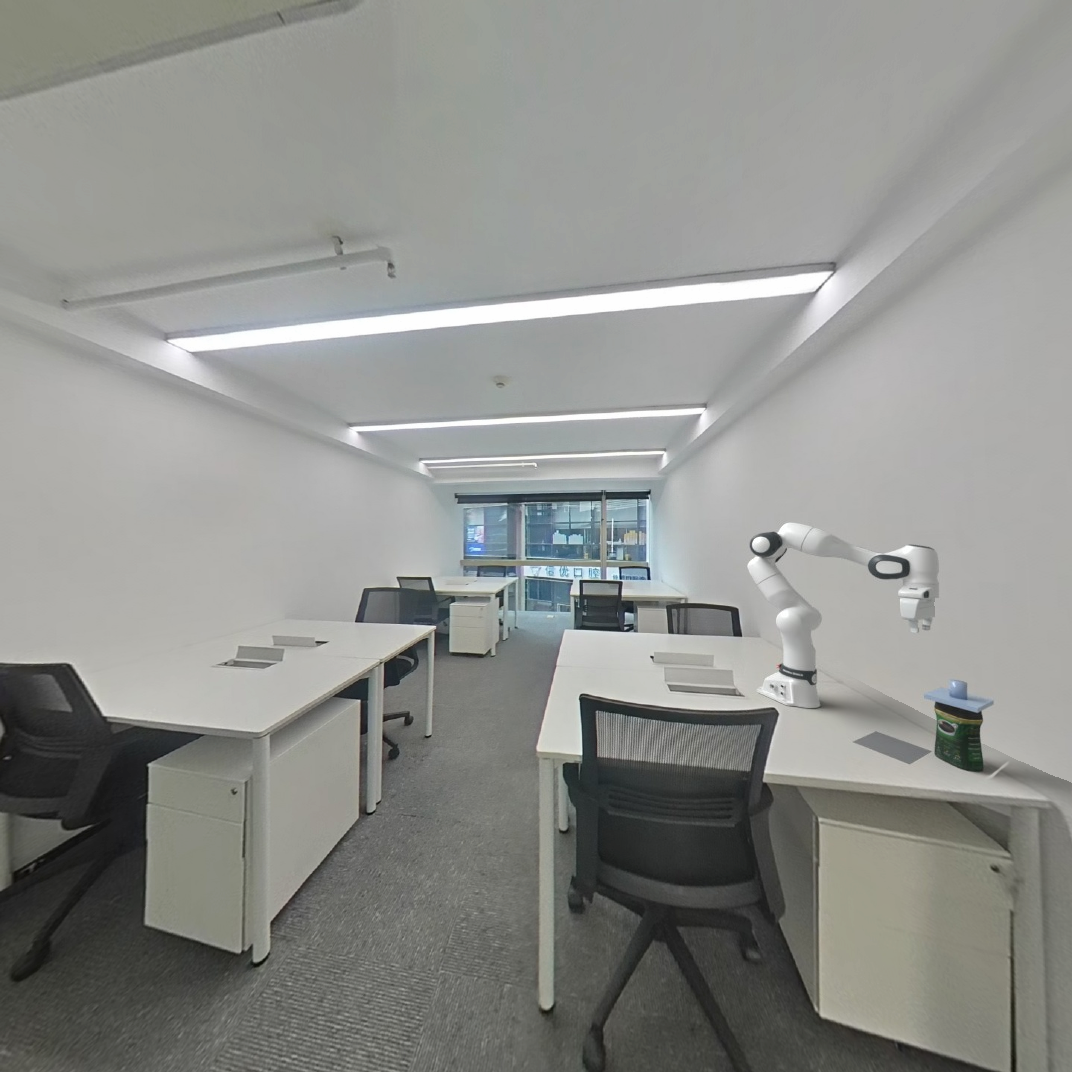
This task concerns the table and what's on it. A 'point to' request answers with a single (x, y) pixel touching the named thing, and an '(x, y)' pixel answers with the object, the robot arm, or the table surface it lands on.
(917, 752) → the mat
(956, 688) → the lid
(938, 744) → the coffee jar
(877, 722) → the table surface
